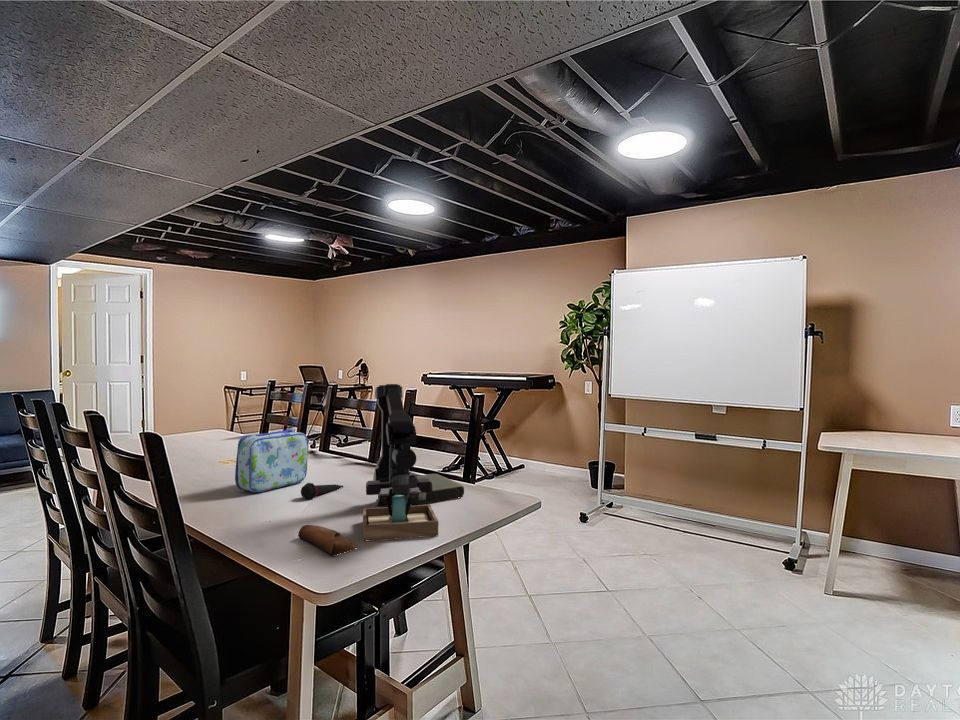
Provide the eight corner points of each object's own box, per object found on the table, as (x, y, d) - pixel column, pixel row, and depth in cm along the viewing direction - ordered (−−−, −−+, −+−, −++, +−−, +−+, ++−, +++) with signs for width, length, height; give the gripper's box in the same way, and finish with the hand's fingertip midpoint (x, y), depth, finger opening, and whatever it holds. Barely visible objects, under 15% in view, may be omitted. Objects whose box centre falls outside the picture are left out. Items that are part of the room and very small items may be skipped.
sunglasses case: (362, 547, 127) (350, 528, 124) (340, 568, 122) (328, 549, 120) (326, 530, 139) (315, 512, 137) (305, 549, 135) (293, 531, 132)
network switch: (379, 494, 178) (379, 480, 178) (431, 484, 194) (431, 471, 194) (416, 510, 161) (416, 494, 161) (470, 497, 177) (470, 483, 177)
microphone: (338, 495, 187) (298, 502, 169) (336, 480, 188) (296, 485, 170) (349, 492, 184) (310, 499, 167) (347, 477, 186) (308, 482, 168)
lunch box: (292, 478, 200) (293, 426, 200) (311, 481, 194) (311, 428, 194) (231, 492, 177) (232, 433, 177) (250, 496, 172) (251, 436, 172)
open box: (362, 522, 147) (363, 508, 147) (429, 517, 152) (429, 504, 152) (363, 541, 131) (364, 526, 131) (438, 535, 136) (438, 521, 136)
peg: (391, 522, 145) (391, 495, 145) (404, 521, 146) (405, 494, 146) (392, 527, 141) (392, 499, 141) (406, 526, 142) (406, 498, 142)
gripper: (367, 469, 134) (366, 527, 134) (435, 466, 138) (434, 522, 138) (366, 461, 144) (365, 514, 144) (429, 459, 149) (429, 510, 149)
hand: (398, 515), depth 144 cm, fingers closed on peg, 4 cm apart
